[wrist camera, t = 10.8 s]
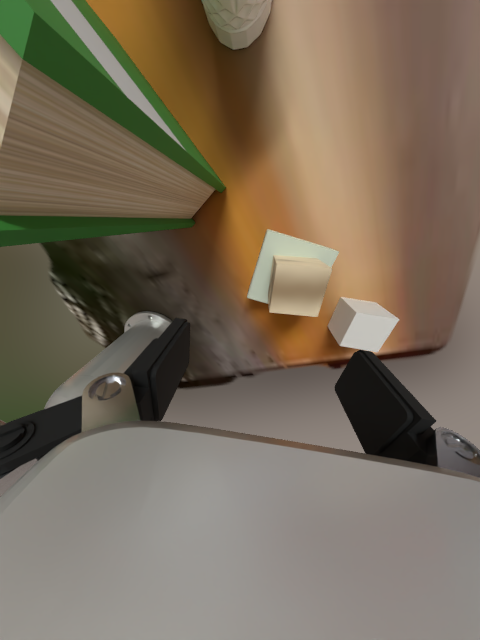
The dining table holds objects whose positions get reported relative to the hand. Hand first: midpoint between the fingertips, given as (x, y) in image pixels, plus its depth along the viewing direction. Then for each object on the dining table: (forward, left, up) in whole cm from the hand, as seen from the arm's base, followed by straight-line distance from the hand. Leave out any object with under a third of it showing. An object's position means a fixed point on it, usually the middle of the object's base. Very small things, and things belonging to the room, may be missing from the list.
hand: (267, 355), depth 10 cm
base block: (0, -4, -23) cm, 23 cm away
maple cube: (0, -4, -19) cm, 19 cm away
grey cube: (-6, -17, -22) cm, 29 cm away
